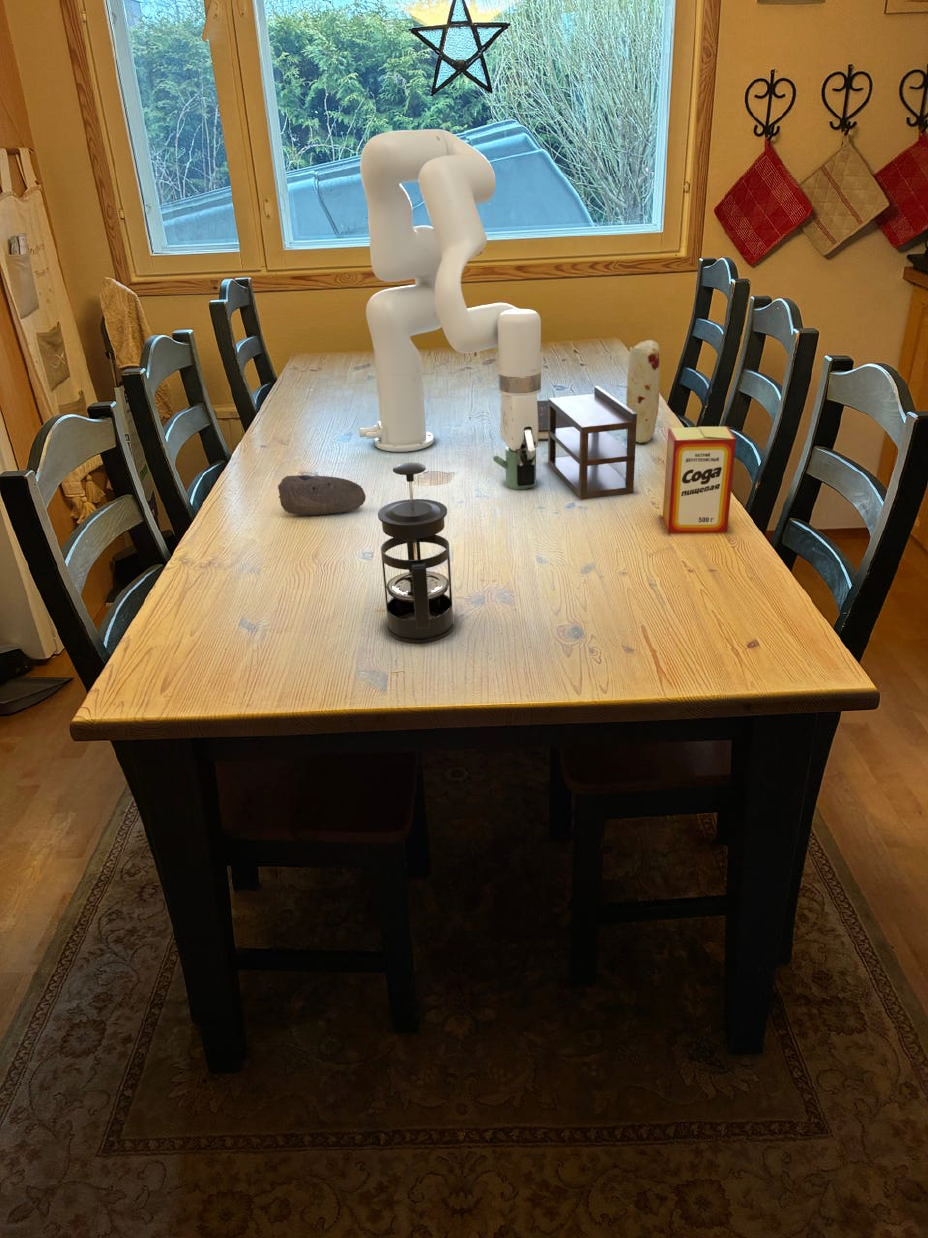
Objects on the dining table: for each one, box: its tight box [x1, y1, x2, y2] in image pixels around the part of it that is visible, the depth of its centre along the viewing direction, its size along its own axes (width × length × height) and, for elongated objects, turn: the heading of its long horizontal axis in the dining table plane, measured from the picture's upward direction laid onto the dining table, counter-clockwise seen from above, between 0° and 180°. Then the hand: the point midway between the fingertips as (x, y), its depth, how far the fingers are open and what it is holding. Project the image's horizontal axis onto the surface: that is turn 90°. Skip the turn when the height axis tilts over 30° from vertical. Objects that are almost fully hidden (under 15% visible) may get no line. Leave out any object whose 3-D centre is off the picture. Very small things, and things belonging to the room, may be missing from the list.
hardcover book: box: [537, 399, 574, 442], centre depth 208 cm, size 16×23×2 cm
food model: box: [625, 339, 661, 444], centre depth 192 cm, size 10×7×20 cm
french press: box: [377, 462, 456, 644], centre depth 123 cm, size 12×9×23 cm
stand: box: [547, 385, 637, 500], centre depth 174 cm, size 10×20×15 cm, turn 12°
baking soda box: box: [662, 425, 737, 534], centre depth 152 cm, size 10×6×16 cm
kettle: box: [492, 445, 537, 490], centre depth 174 cm, size 8×6×9 cm
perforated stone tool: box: [277, 474, 367, 516], centre depth 166 cm, size 15×5×7 cm, turn 89°
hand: (521, 478), depth 176 cm, fingers closed on kettle, 5 cm apart
